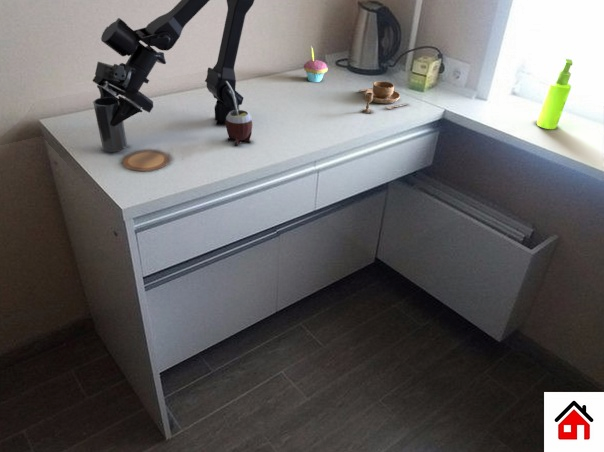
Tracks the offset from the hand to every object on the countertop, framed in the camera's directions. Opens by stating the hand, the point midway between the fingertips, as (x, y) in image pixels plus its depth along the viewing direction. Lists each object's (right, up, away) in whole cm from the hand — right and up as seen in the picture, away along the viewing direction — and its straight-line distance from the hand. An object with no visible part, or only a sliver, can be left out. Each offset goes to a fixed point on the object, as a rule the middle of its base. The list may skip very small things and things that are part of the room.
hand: (104, 121), depth 122 cm
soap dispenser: (+126, +6, +34) cm, 130 cm away
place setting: (+73, +16, +44) cm, 87 cm away
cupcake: (+53, +28, +59) cm, 84 cm away
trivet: (+10, -10, +1) cm, 14 cm away
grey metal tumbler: (+1, -5, +5) cm, 7 cm away
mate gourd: (+31, -3, +13) cm, 34 cm away
